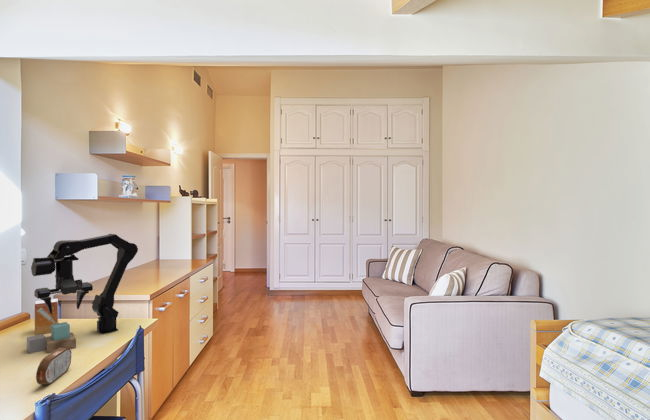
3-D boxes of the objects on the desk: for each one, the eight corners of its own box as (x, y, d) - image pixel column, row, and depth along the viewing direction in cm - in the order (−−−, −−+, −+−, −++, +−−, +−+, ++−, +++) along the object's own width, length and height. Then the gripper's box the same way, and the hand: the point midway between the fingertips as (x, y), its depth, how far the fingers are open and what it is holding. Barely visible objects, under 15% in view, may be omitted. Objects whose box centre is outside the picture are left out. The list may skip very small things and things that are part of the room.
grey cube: (42, 346, 152) (42, 333, 152) (46, 350, 148) (45, 337, 148) (26, 350, 148) (26, 337, 148) (29, 354, 145) (29, 340, 145)
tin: (63, 368, 133) (63, 343, 133) (73, 368, 133) (73, 343, 133) (34, 389, 118) (34, 362, 118) (46, 389, 118) (45, 362, 118)
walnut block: (72, 342, 158) (72, 332, 158) (75, 348, 151) (75, 338, 151) (45, 347, 152) (45, 337, 152) (47, 354, 145) (47, 343, 145)
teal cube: (66, 334, 155) (66, 321, 155) (69, 337, 152) (69, 324, 151) (51, 337, 151) (50, 324, 151) (54, 341, 148) (54, 327, 148)
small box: (34, 335, 164) (34, 304, 164) (35, 330, 170) (35, 300, 169) (58, 331, 169) (57, 301, 168) (58, 327, 174) (58, 298, 174)
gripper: (41, 278, 145) (41, 320, 145) (97, 272, 158) (97, 310, 159) (33, 274, 152) (34, 314, 153) (87, 268, 166) (88, 305, 166)
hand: (64, 311), depth 157 cm, fingers open, 9 cm apart
